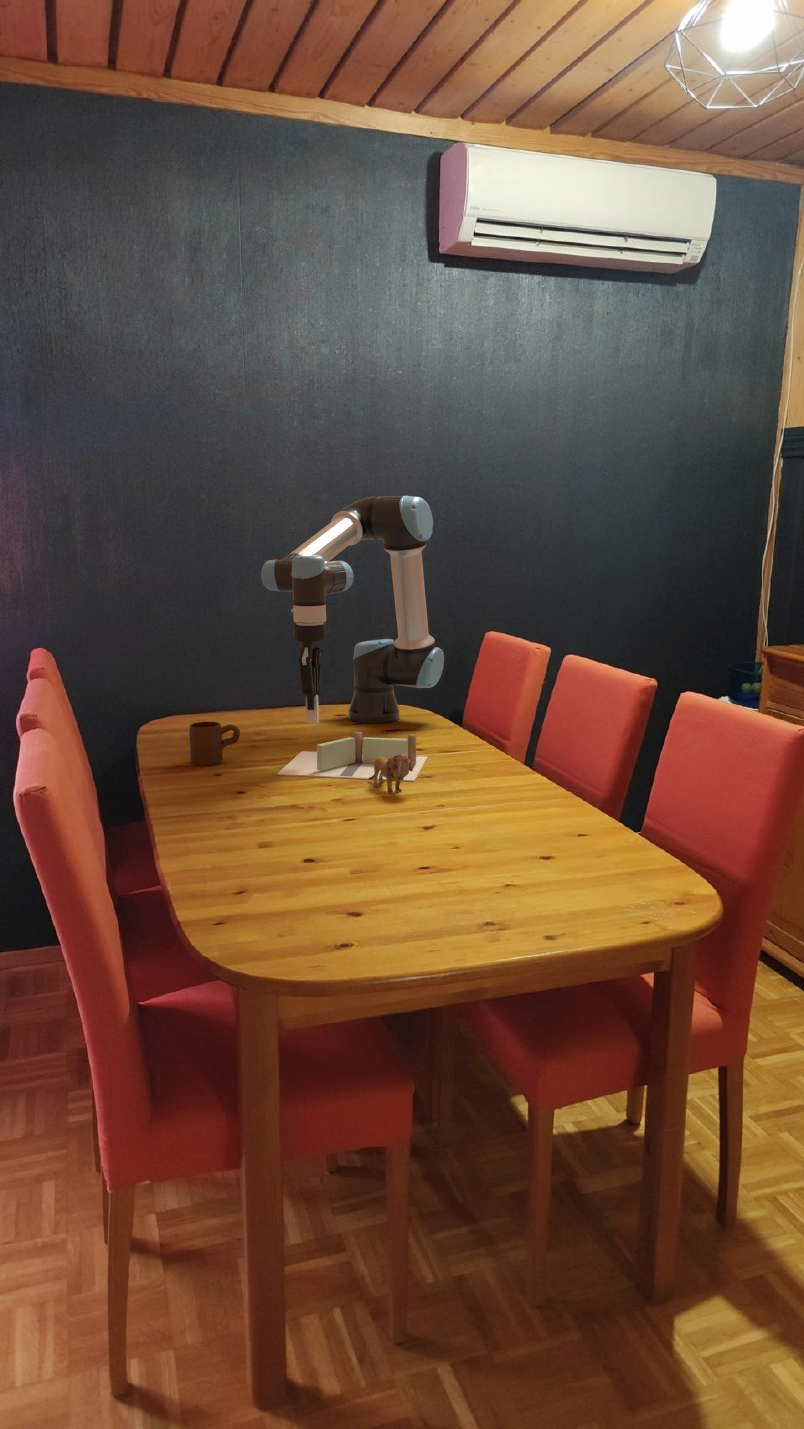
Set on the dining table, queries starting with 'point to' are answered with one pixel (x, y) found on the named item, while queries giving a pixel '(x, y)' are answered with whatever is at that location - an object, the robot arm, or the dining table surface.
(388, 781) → the lion figurine
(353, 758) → the fence panel
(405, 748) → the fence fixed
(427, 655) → the robot arm
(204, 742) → the mug
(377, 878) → the dining table surface
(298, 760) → the card
